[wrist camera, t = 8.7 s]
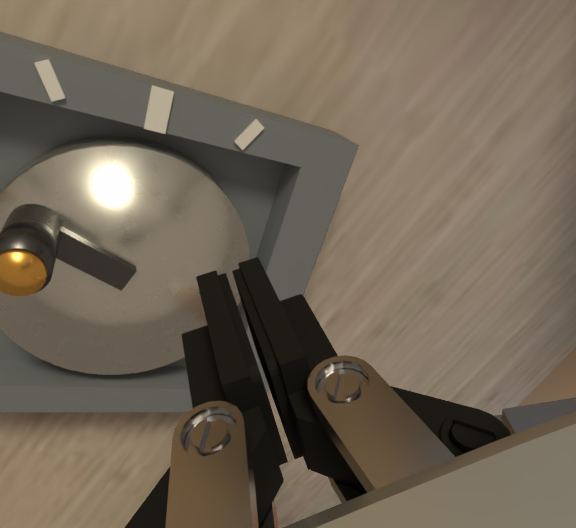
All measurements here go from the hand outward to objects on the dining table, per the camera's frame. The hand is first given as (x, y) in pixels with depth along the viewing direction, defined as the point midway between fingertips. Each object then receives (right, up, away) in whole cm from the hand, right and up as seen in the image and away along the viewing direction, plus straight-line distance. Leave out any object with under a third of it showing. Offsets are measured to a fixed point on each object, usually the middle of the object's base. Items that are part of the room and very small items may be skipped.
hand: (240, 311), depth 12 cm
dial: (-8, +2, +15) cm, 17 cm away
